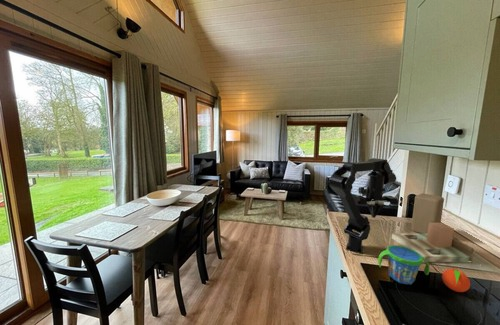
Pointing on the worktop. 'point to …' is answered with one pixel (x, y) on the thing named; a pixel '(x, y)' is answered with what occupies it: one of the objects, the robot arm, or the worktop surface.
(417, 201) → the wooden block
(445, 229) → the terracotta block
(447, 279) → the clementine
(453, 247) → the beige flat square piece
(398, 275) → the snack cup
